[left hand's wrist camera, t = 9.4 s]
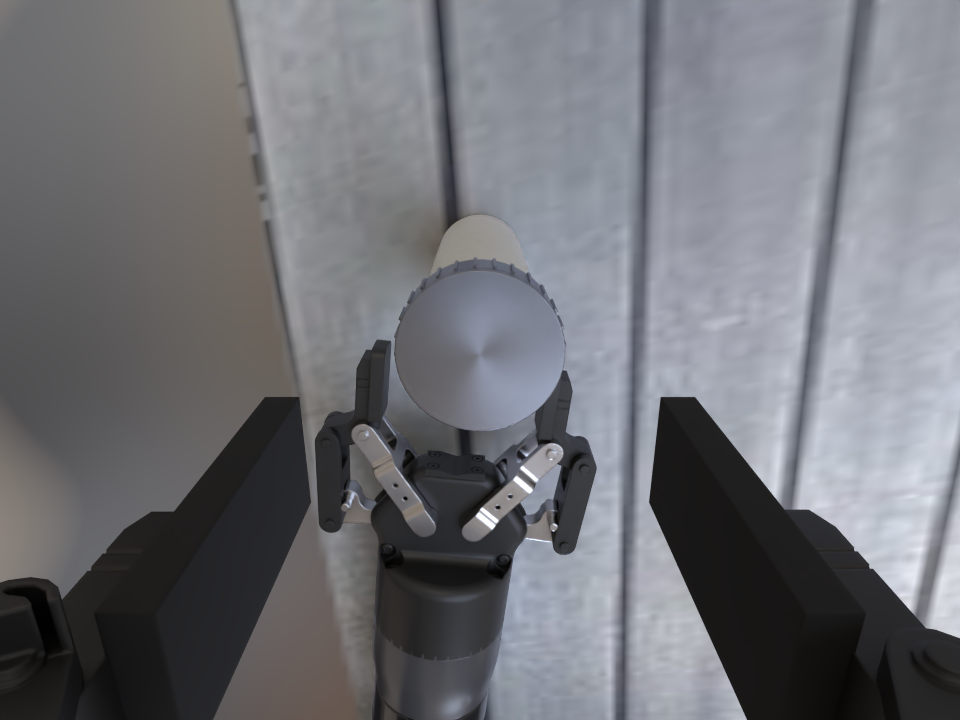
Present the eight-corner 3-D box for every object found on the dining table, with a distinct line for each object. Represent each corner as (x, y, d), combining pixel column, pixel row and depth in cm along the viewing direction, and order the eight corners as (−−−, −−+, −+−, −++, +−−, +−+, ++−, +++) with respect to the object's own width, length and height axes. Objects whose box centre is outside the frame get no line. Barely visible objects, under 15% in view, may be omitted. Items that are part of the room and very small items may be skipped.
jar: (421, 246, 35) (379, 334, 20) (490, 196, 34) (497, 250, 19) (470, 312, 37) (463, 439, 22) (537, 266, 36) (578, 365, 21)
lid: (366, 318, 22) (356, 335, 20) (500, 222, 21) (502, 231, 19) (461, 437, 23) (460, 462, 22) (591, 355, 22) (600, 374, 20)
